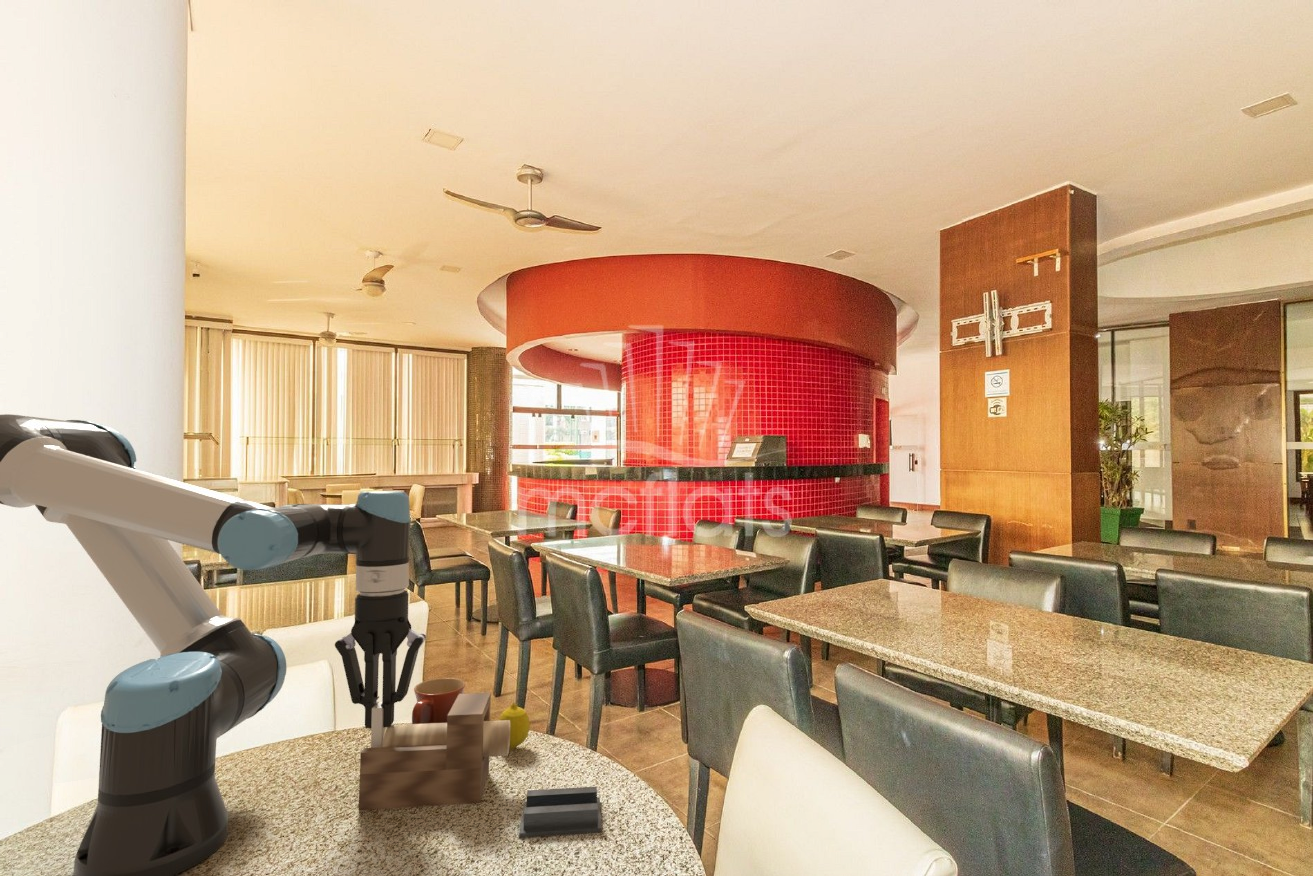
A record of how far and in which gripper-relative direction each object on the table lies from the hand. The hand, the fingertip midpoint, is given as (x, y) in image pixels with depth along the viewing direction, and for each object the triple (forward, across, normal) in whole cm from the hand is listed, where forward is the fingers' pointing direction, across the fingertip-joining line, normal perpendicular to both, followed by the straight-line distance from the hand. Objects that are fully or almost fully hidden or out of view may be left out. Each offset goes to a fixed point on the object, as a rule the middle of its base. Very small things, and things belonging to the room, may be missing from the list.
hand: (378, 748), depth 93 cm
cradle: (+7, +28, -10) cm, 30 cm away
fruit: (+7, +19, +13) cm, 24 cm away
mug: (+7, +5, +15) cm, 17 cm away
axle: (+2, +10, 0) cm, 10 cm away
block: (+7, +7, 0) cm, 10 cm away
